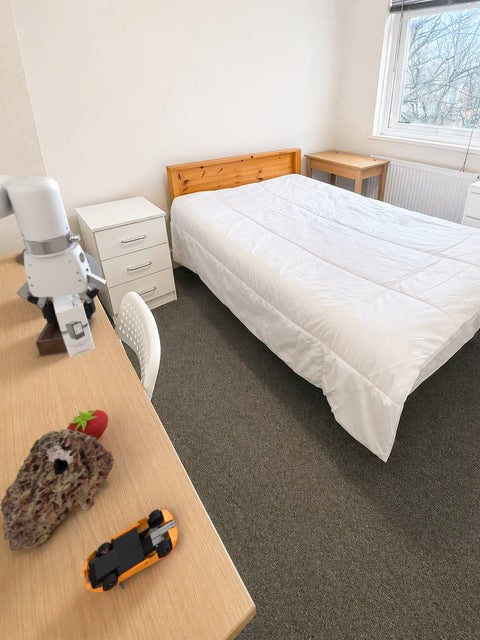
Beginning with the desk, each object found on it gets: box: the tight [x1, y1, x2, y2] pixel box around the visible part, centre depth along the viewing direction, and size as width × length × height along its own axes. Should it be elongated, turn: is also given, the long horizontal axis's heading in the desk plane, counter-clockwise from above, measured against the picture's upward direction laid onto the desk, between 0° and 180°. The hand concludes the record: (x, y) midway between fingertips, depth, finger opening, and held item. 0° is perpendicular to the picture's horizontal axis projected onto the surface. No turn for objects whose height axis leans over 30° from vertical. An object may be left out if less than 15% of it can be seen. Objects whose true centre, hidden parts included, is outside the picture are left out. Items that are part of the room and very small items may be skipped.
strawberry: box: [66, 408, 109, 442], centre depth 71 cm, size 6×8×10 cm
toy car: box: [82, 508, 178, 594], centre depth 56 cm, size 12×12×3 cm
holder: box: [35, 316, 92, 357], centre depth 102 cm, size 10×14×5 cm
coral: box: [0, 428, 115, 551], centre depth 62 cm, size 18×13×15 cm
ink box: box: [51, 294, 96, 359], centre depth 75 cm, size 9×5×12 cm, turn 38°
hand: (71, 317), depth 75 cm, fingers closed on ink box, 6 cm apart
